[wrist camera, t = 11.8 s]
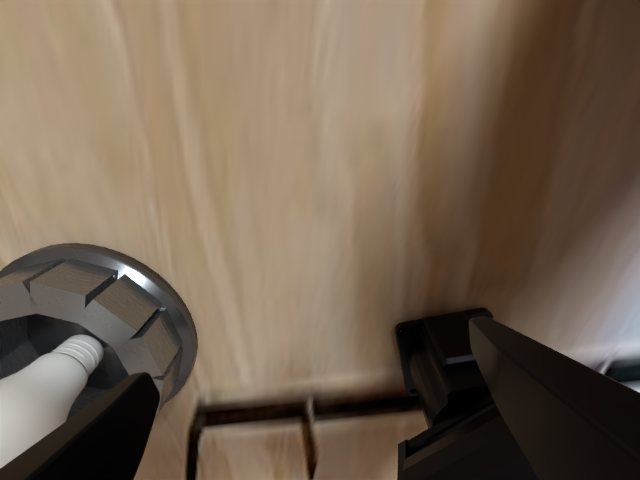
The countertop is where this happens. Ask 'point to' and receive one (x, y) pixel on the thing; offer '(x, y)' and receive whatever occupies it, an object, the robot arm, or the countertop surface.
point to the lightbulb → (44, 394)
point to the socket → (96, 317)
